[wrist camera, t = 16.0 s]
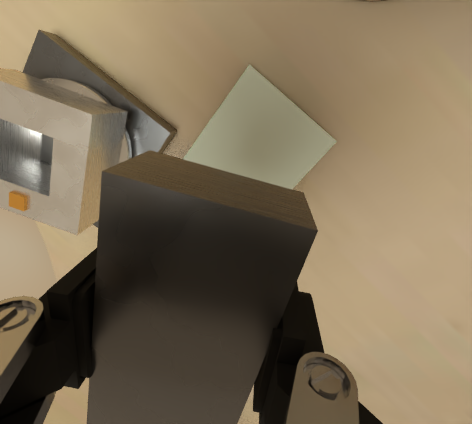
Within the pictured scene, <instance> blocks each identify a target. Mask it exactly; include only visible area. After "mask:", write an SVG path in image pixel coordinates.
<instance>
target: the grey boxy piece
mask: <svg viewBox="0 0 472 424" xmlns="http://www.w3.org/2000/svg"><path fill="white" fill-rule="evenodd" d="M127 113H128V111H125V110H122V109H120V108H117V107H114V106H113V105H112V104H111V103H110V102H109V101H108V100H107V99H106V98H105V97H104V96H102V95H101V94H100V93H99V92H97V91H96V90H94V89H93V88H91V87H89V86H87V85H85V84H83V83H80V82H77V81H74V80H68V79H60V78H45V79H39V78H36V77H34V76H31V75H28V74H26V73H23V72H20V71H18V70H12V69H4V68H0V208H3V209H5V210H8V211H11V212H14V213H17V214H20V215H22V216H25V217H28V218H31V219H33V220H36V221H39V222H42V223H45V224H47V225H50V226H53V227H56V228H59V229H61V230H64V231H67V232H70V233H73V234H75V235H78V234H80V233H81V232H83V231H84V230H85V229H87V228H88V227H90V226H91V225H92V224H94V223H95V222H97V221H98V220H99V209H100V192H101V175H102V171H103V170H105V169H108V168H110V167H112V166H114V165H117V164H119V163H121V162H124V161H126V160H128V159H130V158H132V148H131V141H130V137H129V134H128V131H127V128H126V126H125V125H126V119H127Z"/></svg>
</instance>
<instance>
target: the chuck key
mask: <svg viewBox="0 0 472 424" xmlns="http://www.w3.org/2000/svg"><path fill="white" fill-rule="evenodd" d="M317 232H318V230H317V227H316V225H315V222H314V219H313V217H312V214H311V211H310V209H309V206H308V203H307V201H306V198H305V195H304V193H303V192H299V191H296V190H292V189H288V188H285V187H281V186H278V185H274V184H270V183H267V182H263V181H259V180H256V179H252V178H249V177H245V176H241V175H238V174H234V173H231V172H227V171H223V170H220V169H216V168H212V167H209V166H205V165H202V164H198V163H194V162H191V161H187V160H184V159H180V158H176V157H173V156H169V155H166V154H162V153H158V152H155V151H151V150H149V151H147V152H144V153H142V154H140V155H137V156H135V157H133V158H130V159H128V160H126V161H124V162H121V163H119V164H117V165H114V166H112V167H110V168H108V169H105V170H103V171H102V175H101V192H100V209H99V226H98V243H97V260H96V277H95V294H94V310H93V327H92V344H91V363H92V374H93V375H92V376H91V377H90V378H89V395H88V412H87V424H237V423H238V420H239V418H240V416H241V413H242V411H243V409H244V406H245V404H246V401H247V399H248V397H249V394H250V392H251V389H252V387H253V385H254V382H255V380H256V377H257V375H258V373H259V370H260V368H261V365H262V363H263V361H264V358H265V356H266V354H267V351H268V347H269V343H270V339H271V335H272V331H273V328H276V329H277V327H278V325H279V322H280V320H281V318H282V315H283V313H284V310H285V308H286V306H287V303H288V301H289V299H290V296H291V294H292V291H293V289H294V287H295V284H296V282H297V279H298V277H299V275H300V272H301V270H302V267H303V265H304V263H305V260H306V258H307V256H308V253H309V251H310V248H311V246H312V244H313V241H314V239H315V236H316V234H317Z"/></svg>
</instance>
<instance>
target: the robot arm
mask: <svg viewBox="0 0 472 424" xmlns="http://www.w3.org/2000/svg"><path fill="white" fill-rule="evenodd" d="M367 1H379V0H367ZM96 260H97V248H96V249H95V250H94V251H93V252H91V253H90V254H89V255H88V256H87V257H86V258H84V259H83V260H82V261H81V262H80V263H79V264H77V265H76V266H75V267H74V268H73V269H72V270H71V271H69V272H68V273H67V274H66V275H65V276H64V277H62V278H61V279H60V280H59V281H58V282H57V283H55V284H54V285H53V286H52V287H51V288H50V289H49V290H47V292H46V293H45V294H44V295H43V296H42V297H40V298H39V299H36V298H34V297H27V296H22V297H13V298H9V299H4V300H2V301H0V424H43V422H44V420H45V417H46V415H47V413H48V411H49V408H50V406H51V404H52V402H53V399H54V397H55V393H56V391H58V390H60V389H62V387H63V386H67V387H72V388H76V389H79V387H80V386H81V384H82V383H83V381H84V380H85V378H86V377H87V378H90V377H91V376H92V375H93V374H92V363H91V344H92V327H93V310H94V294H95V277H96ZM253 411H254V412H259V424H383V423H382V422H381V421H379V420H378V419H377V418H376V417H375V416H374V415H373V414H372V413H371V412H370V411H369V410H367V409H366V408H365V407H364V406H363V405H362V404H361V403H360V402H359V401H358V389H357V384H356V381H355V379H354V377H353V375H352V373H351V372H350V371H349V369H348V368H347V367H346V366H345V365H344V364H343V363H342V362H340V361H339V360H338V359H336V358H334V357H333V356H331V355H329V354H325V353H324V349H323V345H322V340H321V336H320V331H319V327H318V322H317V318H316V313H315V309H314V304H313V300H312V296H311V294H310V293H304V292H299V291H298V285H297V282H296V284H295V287H294V289H293V291H292V294H291V296H290V299H289V301H288V303H287V306H286V308H285V310H284V313H283V315H282V318H281V320H280V322H279V325H278V327H277V329H276V328H273V331H272V335H271V339H270V343H269V347H268V351H267V354H266V356H265V358H264V361H263V363H262V365H261V368H260V370H259V373H258V375H257V377H256V380H255V382H254V397H253Z"/></svg>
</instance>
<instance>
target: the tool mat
mask: <svg viewBox="0 0 472 424" xmlns="http://www.w3.org/2000/svg"><path fill="white" fill-rule="evenodd" d="M336 142H337V141H336V140H335V139H334V138H333V137H332V136H330V135H329V134H328V133H327V132H326V131H325V130H324V129H322V128H321V127H320V126H319V125H318V124H317V123H316V122H315V121H313V120H312V119H311V118H310V117H309V116H308V115H307V114H305V113H304V112H303V111H302V110H301V109H300V108H299V107H298V106H296V105H295V104H294V103H293V102H292V101H291V100H290V99H288V98H287V97H286V96H285V95H284V94H283V93H282V92H280V91H279V90H278V89H277V88H276V87H275V86H274V85H273V84H271V83H270V82H269V81H268V80H267V79H266V78H265V77H263V76H262V75H261V74H260V73H259V72H258V71H257V70H256V69H254V68H253V67H252V66H251V65H250V64H249V65H248V67H247V68H246V70H245V71H244V73H243V74H242V75H241V77H240V78H239V80H238V81H237V83H236V84H235V85H234V87H233V88H232V90H231V91H230V93H229V94H228V95H227V97H226V98H225V100H224V101H223V102H222V104H221V105H220V107H219V108H218V110H217V111H216V112H215V114H214V115H213V117H212V118H211V120H210V121H209V122H208V124H207V125H206V127H205V128H204V130H203V131H202V132H201V134H200V135H199V137H198V138H197V140H196V141H195V142H194V144H193V145H192V147H191V148H190V149H189V151H188V152H187V154H186V155H185V157H184V158H183V159H184V160H187V161H191V162H194V163H198V164H202V165H205V166H209V167H212V168H216V169H220V170H223V171H227V172H231V173H234V174H238V175H241V176H245V177H249V178H252V179H256V180H259V181H263V182H267V183H270V184H274V185H278V186H281V187H285V188H288V189H293V188H294V187H295V186H296V185H297V184H298V183H299V182H300V180H301V179H302V178H303V177H304V176H305V175H306V174H307V173H308V172H309V171H310V170H311V169H312V168H313V167H314V165H315V164H316V163H317V162H318V161H319V160H320V159H321V158H322V157H323V156H324V155H325V154H326V153H327V152H328V150H329V149H330V148H331V147H332V146H333V145H334V144H335V143H336Z"/></svg>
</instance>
